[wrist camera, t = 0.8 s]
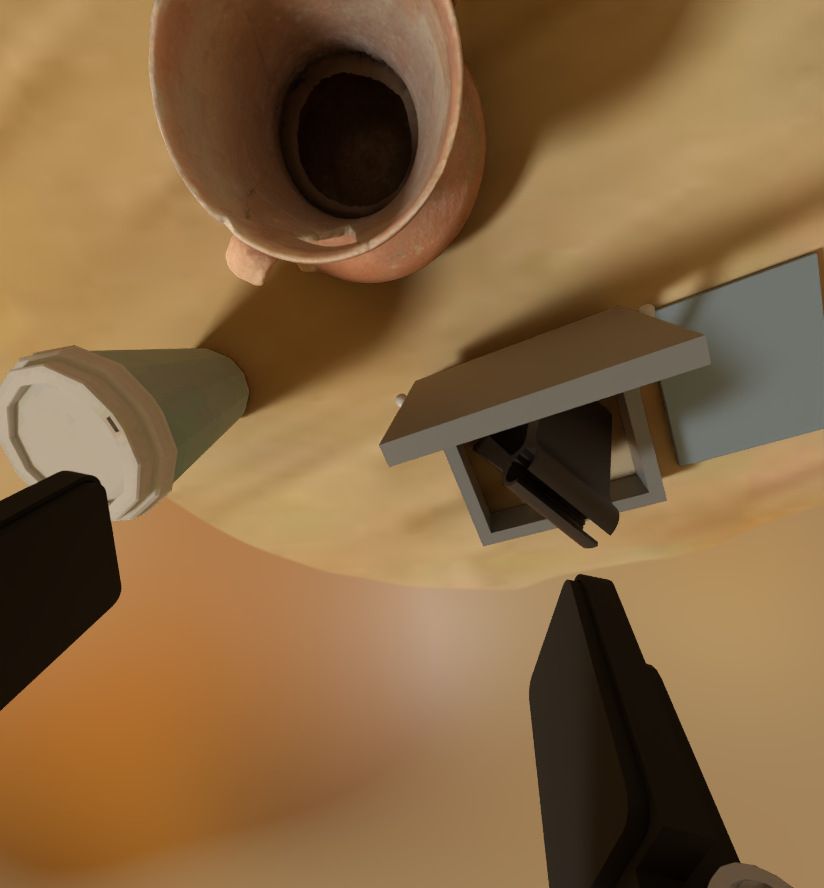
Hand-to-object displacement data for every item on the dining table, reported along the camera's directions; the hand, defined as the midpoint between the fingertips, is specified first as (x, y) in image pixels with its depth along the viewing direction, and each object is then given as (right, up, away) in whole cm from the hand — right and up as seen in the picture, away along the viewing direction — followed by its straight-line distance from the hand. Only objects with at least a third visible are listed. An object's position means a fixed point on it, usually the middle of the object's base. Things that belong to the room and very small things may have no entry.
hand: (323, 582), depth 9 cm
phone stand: (+12, +4, +26) cm, 29 cm away
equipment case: (+12, +4, +26) cm, 29 cm away
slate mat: (+25, +8, +22) cm, 34 cm away
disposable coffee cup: (-15, +8, +29) cm, 33 cm away
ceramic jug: (0, +22, +21) cm, 30 cm away
